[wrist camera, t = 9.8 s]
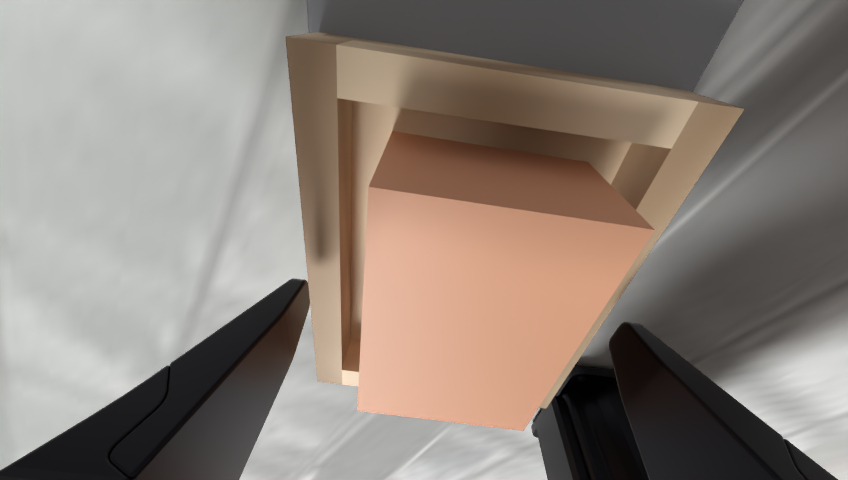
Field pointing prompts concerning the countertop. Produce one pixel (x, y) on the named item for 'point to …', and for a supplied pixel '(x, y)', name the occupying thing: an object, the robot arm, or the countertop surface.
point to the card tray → (477, 124)
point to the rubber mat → (548, 32)
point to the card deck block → (483, 277)
